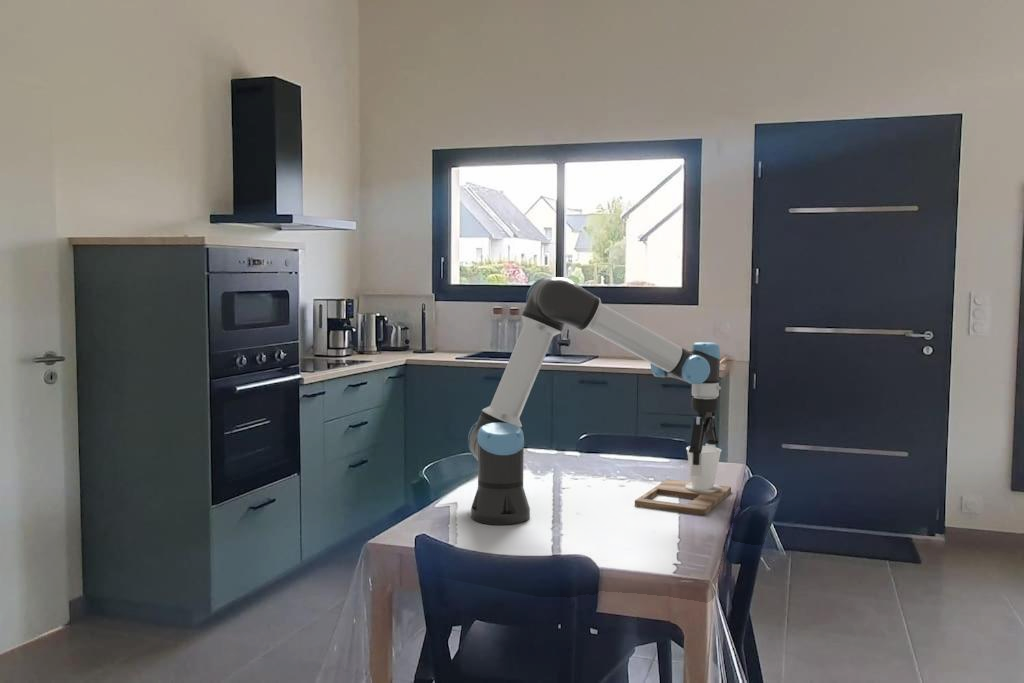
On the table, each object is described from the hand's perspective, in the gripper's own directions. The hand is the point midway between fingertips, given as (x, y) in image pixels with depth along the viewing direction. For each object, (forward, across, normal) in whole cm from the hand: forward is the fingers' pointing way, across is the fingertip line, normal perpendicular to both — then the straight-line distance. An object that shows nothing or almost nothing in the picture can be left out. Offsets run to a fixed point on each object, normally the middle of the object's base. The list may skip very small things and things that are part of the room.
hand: (703, 471), depth 249 cm
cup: (+5, 0, 0) cm, 5 cm away
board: (+7, -8, +3) cm, 11 cm away
